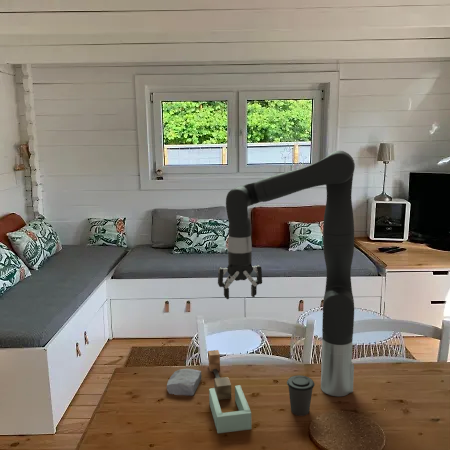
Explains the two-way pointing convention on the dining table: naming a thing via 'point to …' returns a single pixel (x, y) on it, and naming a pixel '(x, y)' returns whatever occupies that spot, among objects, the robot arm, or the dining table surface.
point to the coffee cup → (300, 394)
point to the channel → (230, 413)
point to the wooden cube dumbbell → (220, 384)
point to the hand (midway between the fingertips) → (240, 297)
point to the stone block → (184, 382)
